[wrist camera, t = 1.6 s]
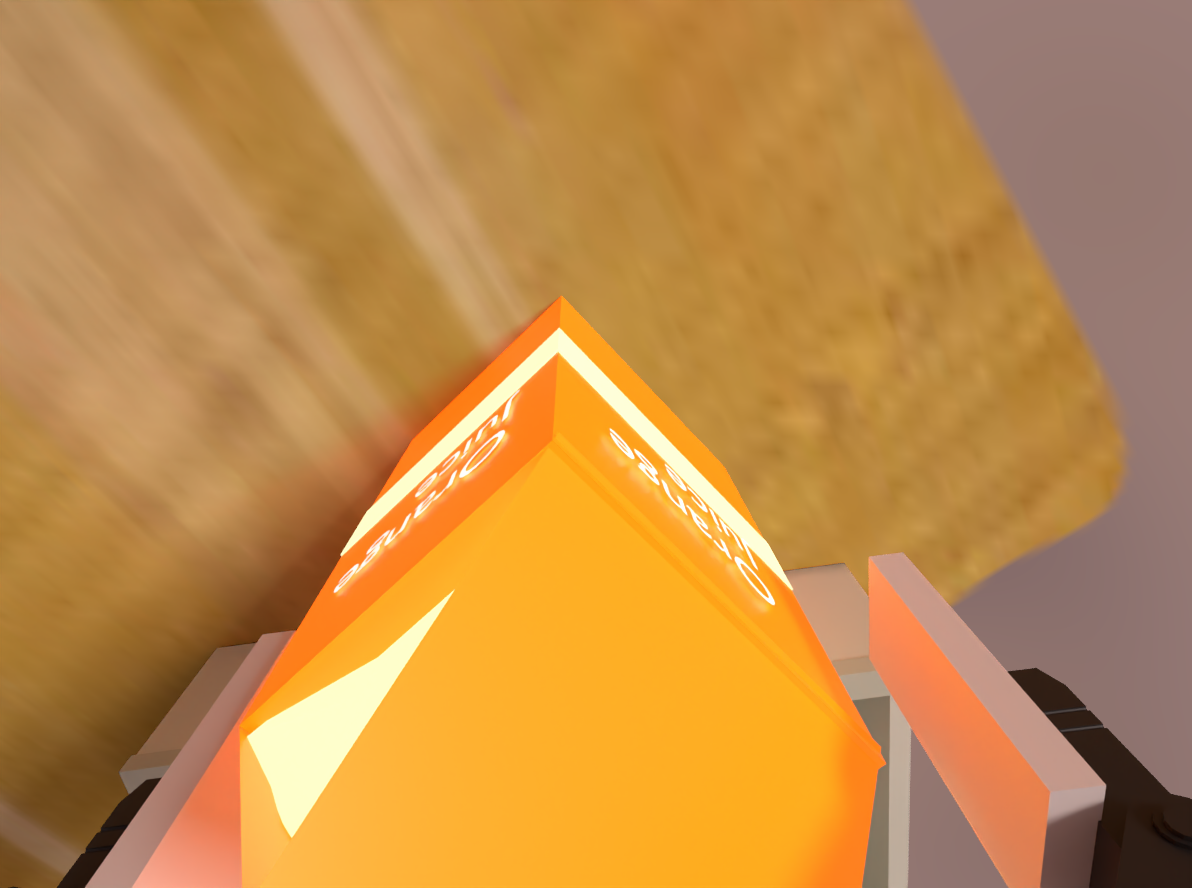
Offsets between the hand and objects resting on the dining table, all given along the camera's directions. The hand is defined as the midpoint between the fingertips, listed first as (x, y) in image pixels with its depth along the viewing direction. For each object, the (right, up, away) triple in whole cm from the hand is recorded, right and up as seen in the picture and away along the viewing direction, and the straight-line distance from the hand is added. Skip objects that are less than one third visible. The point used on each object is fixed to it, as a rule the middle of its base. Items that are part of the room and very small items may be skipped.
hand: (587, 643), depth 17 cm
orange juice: (-1, +4, +10) cm, 11 cm away
